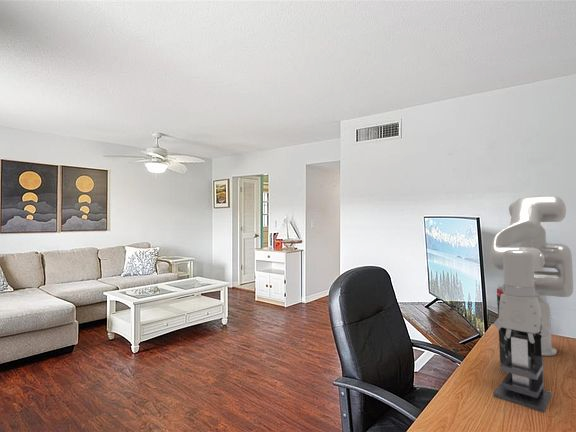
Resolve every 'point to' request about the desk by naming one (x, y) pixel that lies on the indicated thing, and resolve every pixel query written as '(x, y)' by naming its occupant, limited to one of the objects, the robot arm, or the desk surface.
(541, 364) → the collar stand
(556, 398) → the desk surface
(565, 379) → the desk surface
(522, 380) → the silver square metal bar
